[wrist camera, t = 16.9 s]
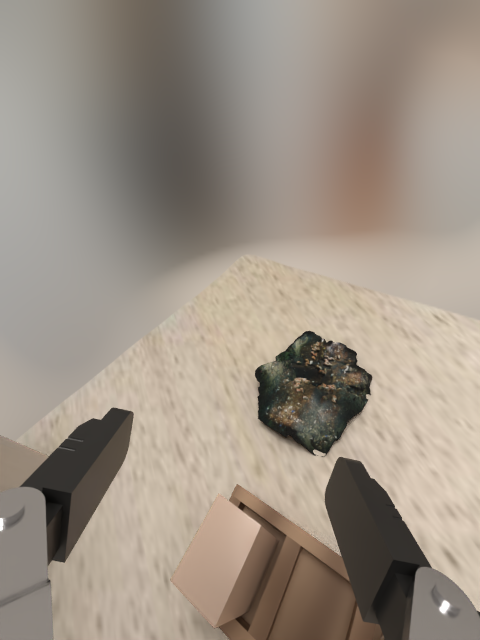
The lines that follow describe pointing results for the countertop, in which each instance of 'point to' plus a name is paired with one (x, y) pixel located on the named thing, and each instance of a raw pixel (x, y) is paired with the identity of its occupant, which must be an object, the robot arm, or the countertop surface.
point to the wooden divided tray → (298, 587)
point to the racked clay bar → (225, 563)
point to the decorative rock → (312, 391)
